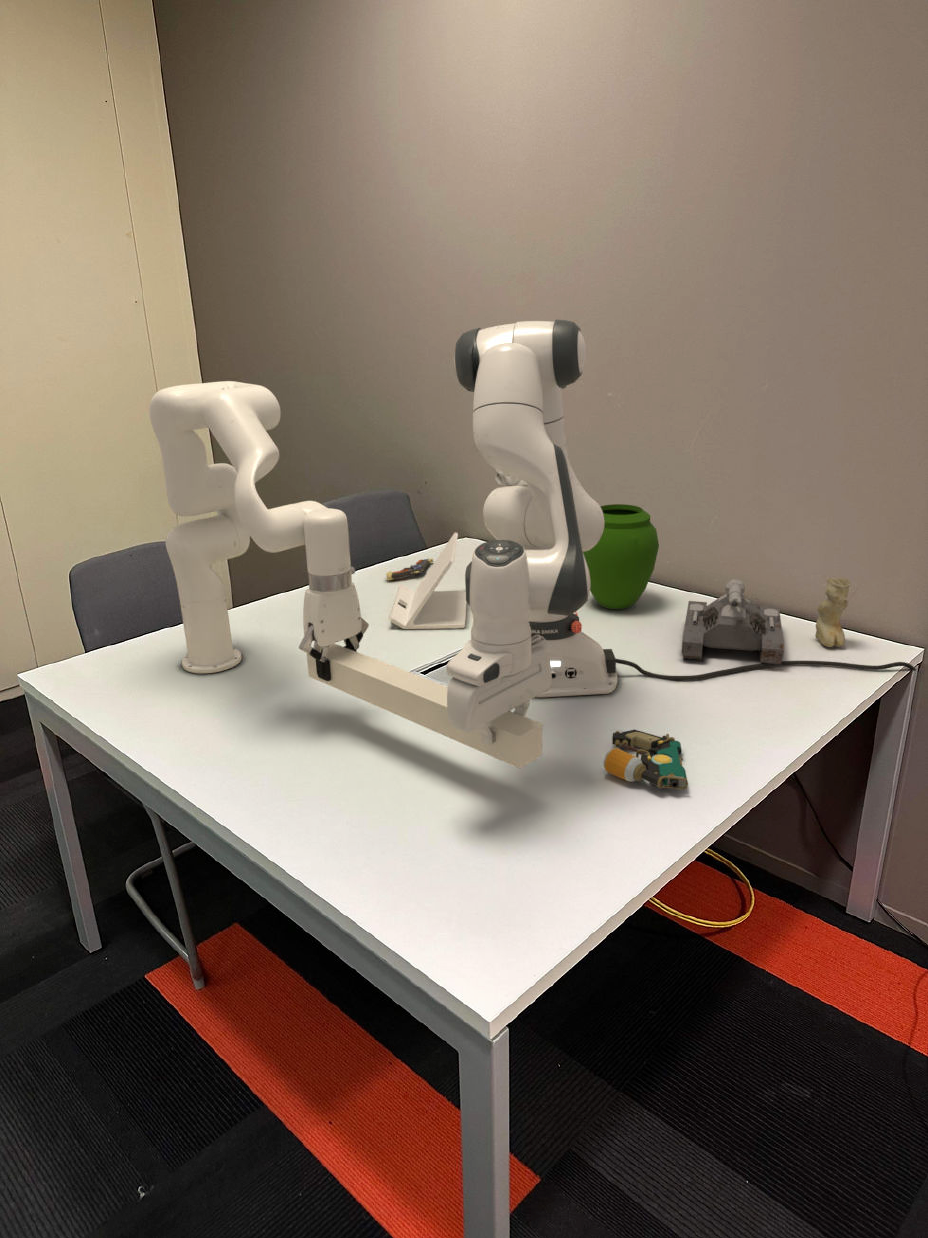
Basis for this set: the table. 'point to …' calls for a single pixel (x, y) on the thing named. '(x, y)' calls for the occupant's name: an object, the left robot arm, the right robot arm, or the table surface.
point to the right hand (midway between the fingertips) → (503, 734)
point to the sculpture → (832, 613)
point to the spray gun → (647, 759)
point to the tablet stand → (431, 599)
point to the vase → (622, 556)
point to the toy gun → (410, 569)
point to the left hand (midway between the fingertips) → (337, 672)
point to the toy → (733, 626)
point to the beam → (426, 704)
